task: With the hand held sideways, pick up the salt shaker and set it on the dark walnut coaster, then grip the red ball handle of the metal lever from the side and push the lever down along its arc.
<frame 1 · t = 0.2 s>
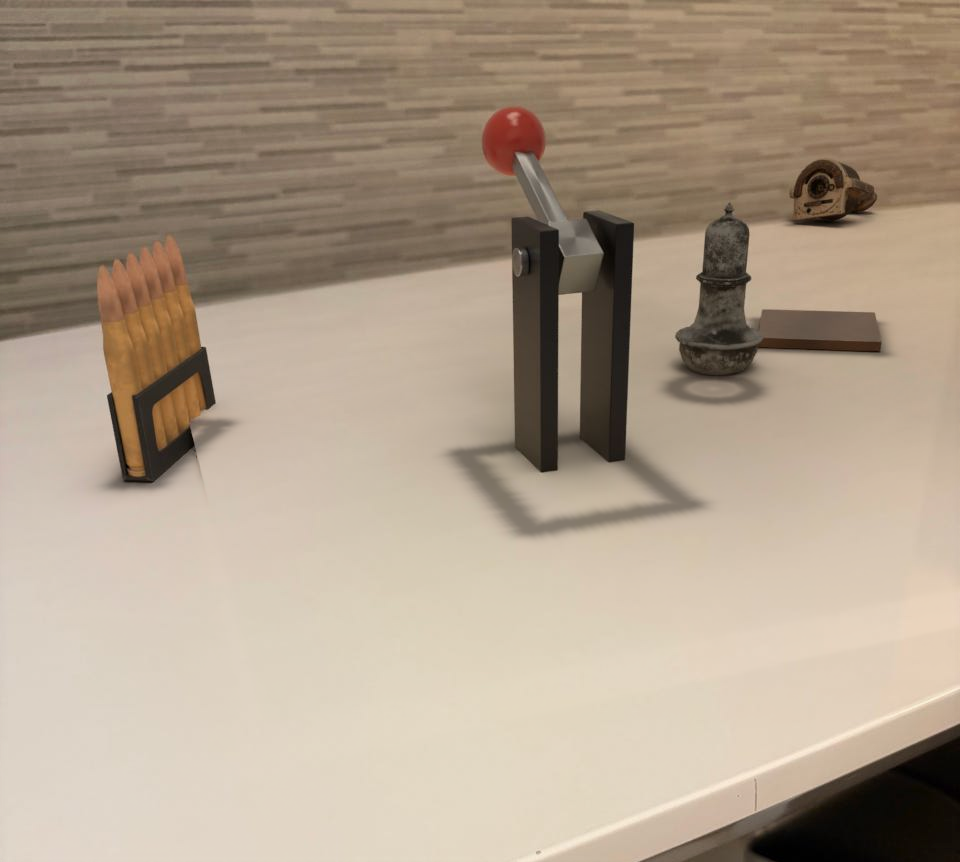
bracket: (568, 475, 62), on the table
ammunition clip: (174, 452, 68), on the table
lever: (540, 194, 58), point 14 cm above the table, hinge at 28.0°
salt shaker: (714, 389, 75), on the table
mechanical counter: (838, 220, 130), on the table
coaster: (817, 334, 86), on the table
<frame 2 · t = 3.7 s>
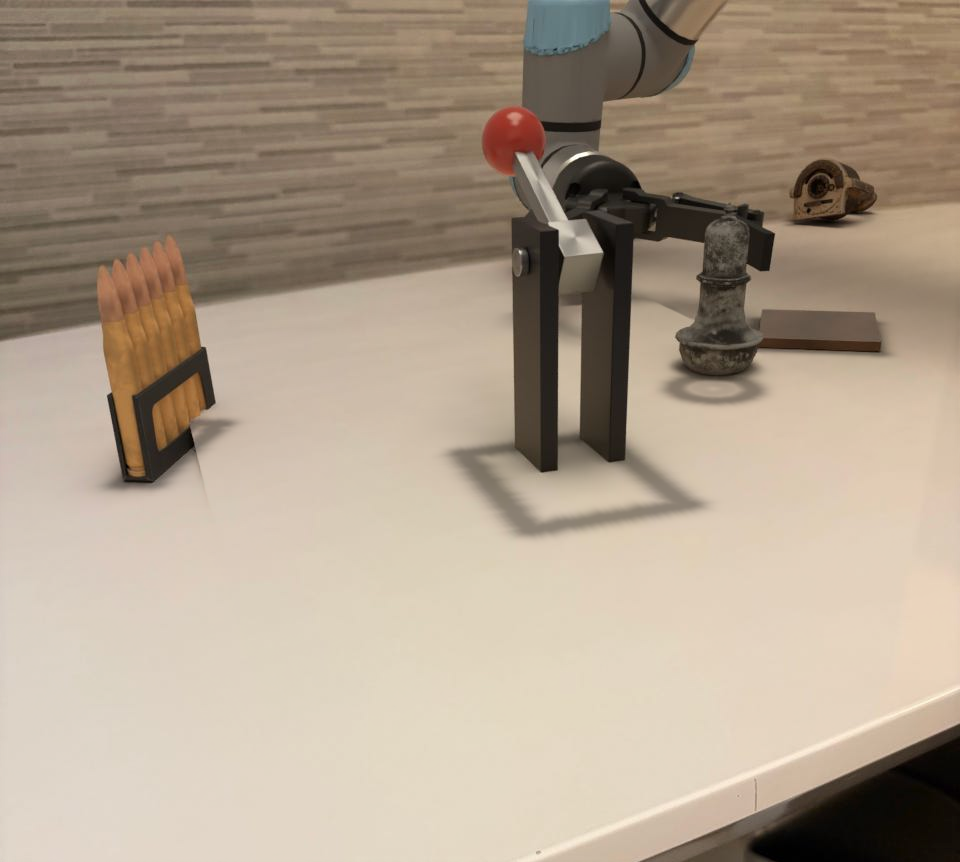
hand: (682, 257, 79), 7 cm above the table, tool horizontal, fingers open, 13 cm apart
nothing on the table moved.
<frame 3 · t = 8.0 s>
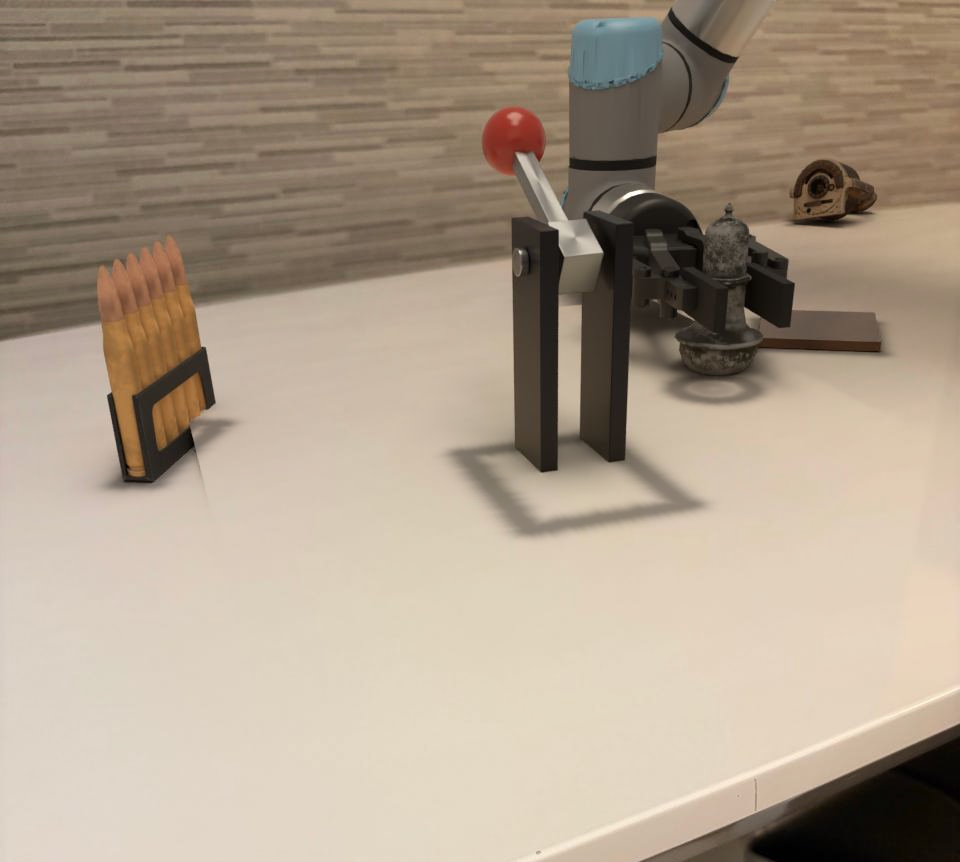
hand: (753, 308, 67), 7 cm above the table, tool horizontal, fingers closed on salt shaker, 4 cm apart
salt shaker: (714, 389, 75), on the table, touching gripper
everything else where it was.
when the fingers open (7 cm above the table, at t = 15.4 s): salt shaker stays where it is, resting on coaster.
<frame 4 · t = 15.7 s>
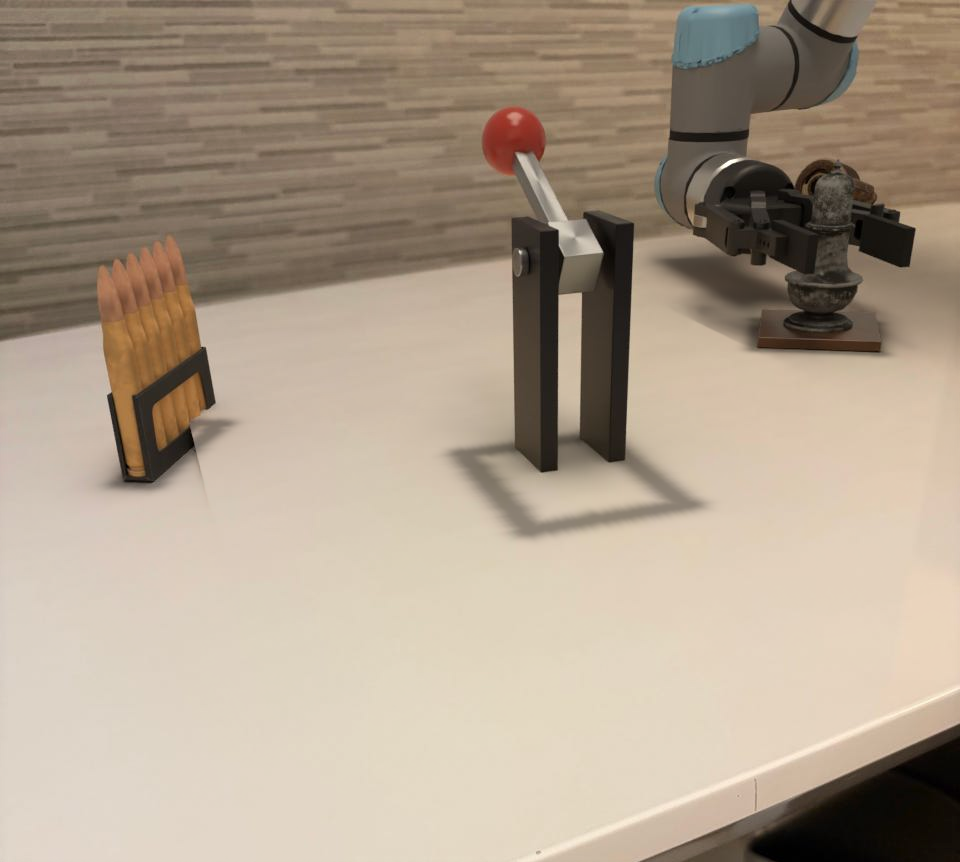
hand: (859, 251, 78), 7 cm above the table, tool horizontal, fingers open, 7 cm apart
salt shaker: (817, 326, 86), point 1 cm above the table, touching coaster
everything else where it was.
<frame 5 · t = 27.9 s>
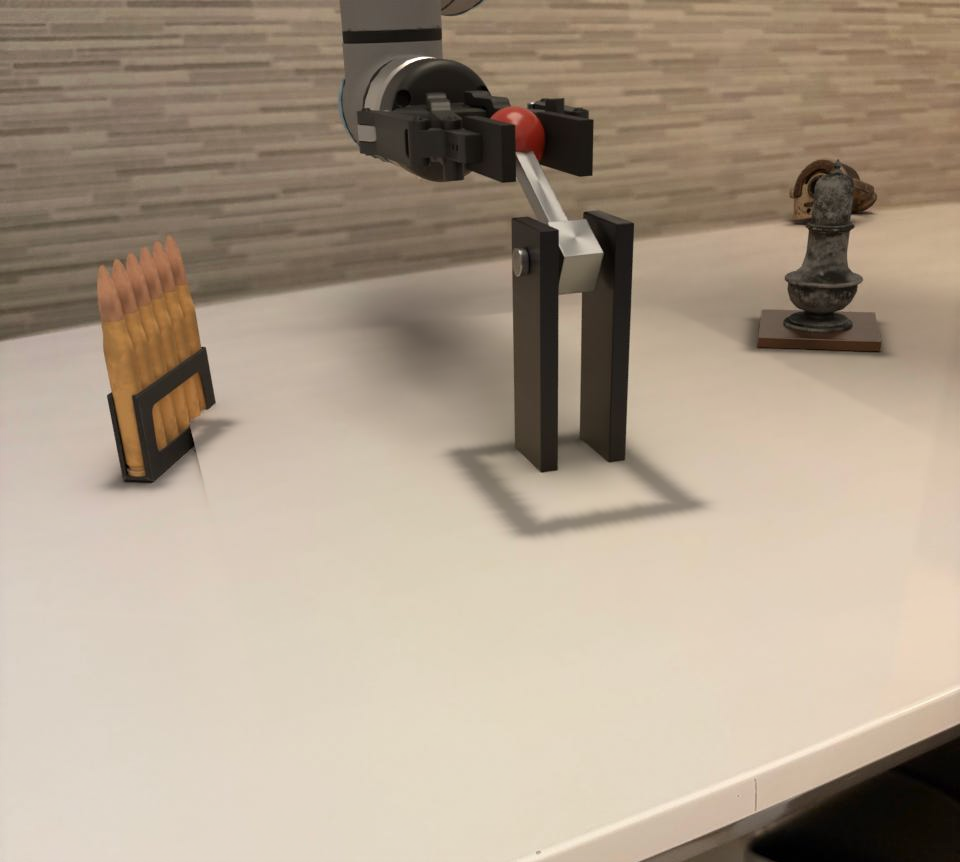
hand: (547, 151, 56), 17 cm above the table, tool horizontal, fingers closed on lever, 4 cm apart
lever: (540, 194, 58), point 14 cm above the table, hinge at 28.0°, touching gripper
everything else where it was.
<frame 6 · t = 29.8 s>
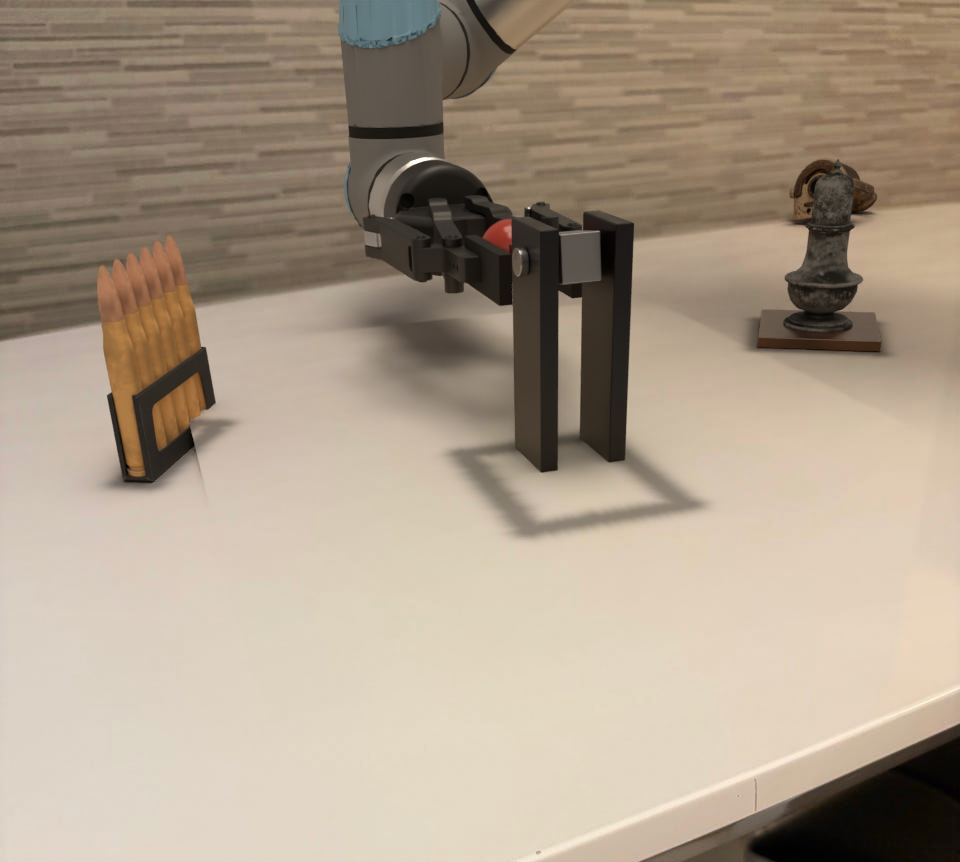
hand: (542, 276, 60), 10 cm above the table, tool horizontal, fingers closed on lever, 4 cm apart
lever: (536, 253, 60), point 11 cm above the table, hinge at -8.0°, touching gripper
everything else where it was.
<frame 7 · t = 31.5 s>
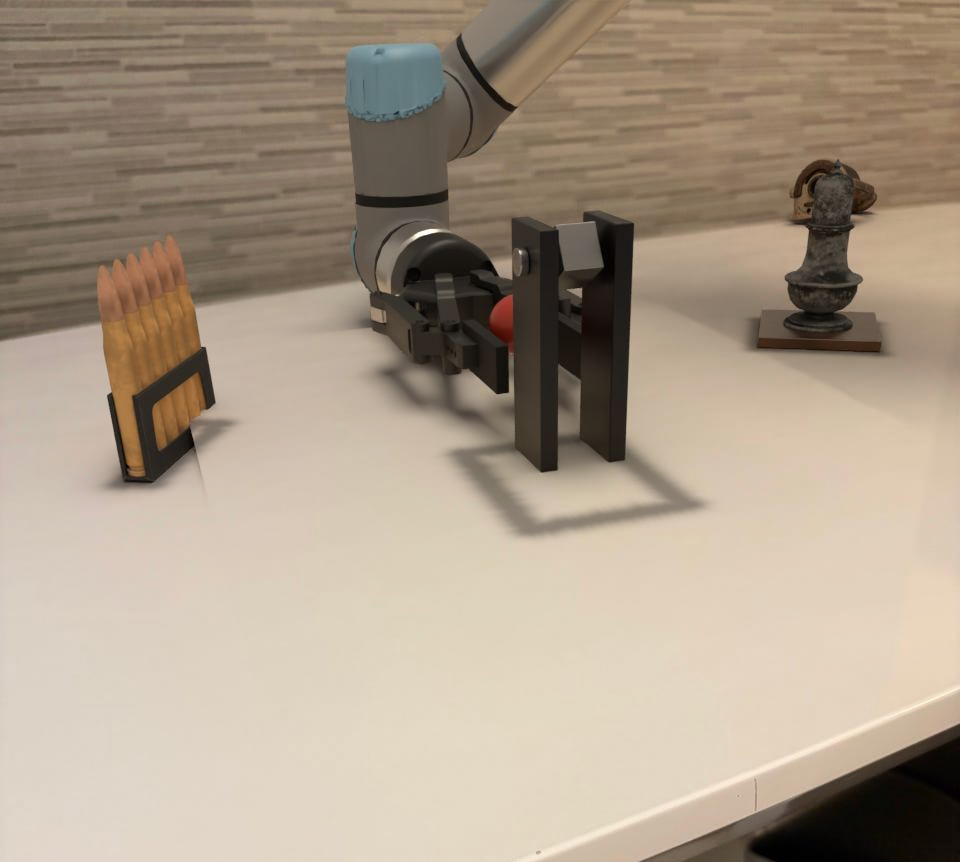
hand: (547, 364, 62), 5 cm above the table, tool horizontal, fingers open, 5 cm apart
lever: (541, 294, 61), point 9 cm above the table, hinge at -32.6°
everything else where it was.
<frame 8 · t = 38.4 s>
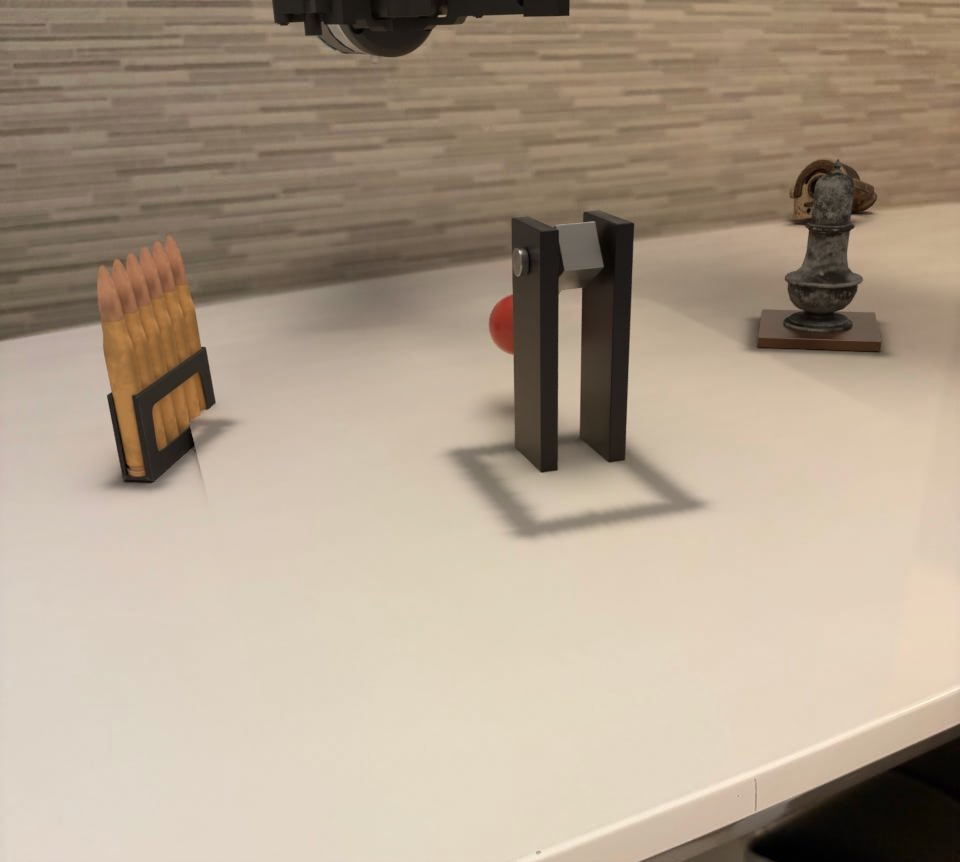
nothing on the table moved.
at the end: salt shaker inside the target area on the coaster (0.1 cm from its centre), point 0.6 cm above the coaster's base; salt shaker tilted 0°; lever at -33° (first picture: +28°) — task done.
